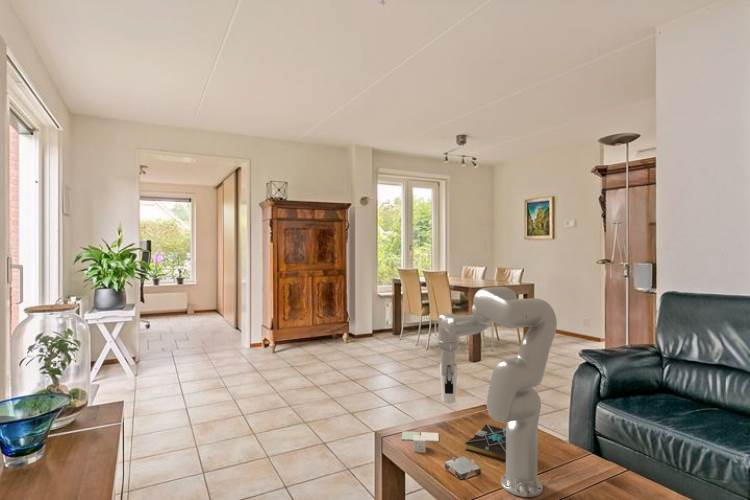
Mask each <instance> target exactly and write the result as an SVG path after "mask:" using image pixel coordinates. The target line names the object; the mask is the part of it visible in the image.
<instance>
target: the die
mask: <svg viewBox="0 0 750 500" xmlns="http://www.w3.org/2000/svg"><path fill="white" fill-rule="evenodd" d="M412 442H413V444H412V445H413V446H412V447H413V448H412V449H413V453H423V454H425V453H426V452H427V450H426V448H427V444H426V443H427V441H426V436H425V435H421V434H420V435H414V439H413V441H412Z"/></svg>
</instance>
